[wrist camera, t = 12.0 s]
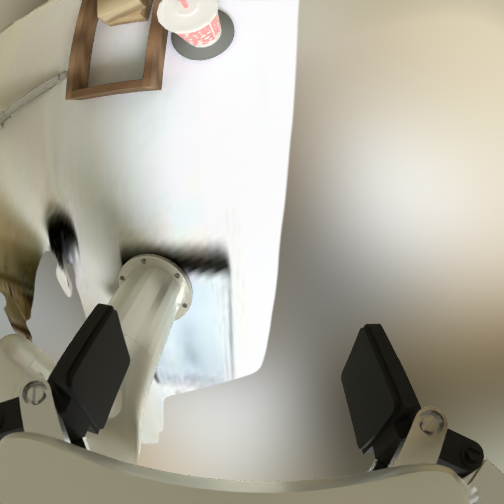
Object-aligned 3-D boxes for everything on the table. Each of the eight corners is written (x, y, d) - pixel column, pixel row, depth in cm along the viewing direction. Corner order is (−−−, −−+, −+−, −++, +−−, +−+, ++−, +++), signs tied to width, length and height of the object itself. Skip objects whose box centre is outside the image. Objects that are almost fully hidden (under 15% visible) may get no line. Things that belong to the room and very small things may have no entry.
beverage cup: (203, 6, 24) (175, -46, 11) (237, 29, 25) (226, -21, 13) (170, 37, 26) (124, -1, 13) (203, 61, 28) (170, 26, 15)
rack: (161, 89, 30) (150, 86, 26) (81, 99, 29) (65, 99, 26) (177, -20, 22) (170, -31, 18) (98, -2, 21) (85, -10, 18)
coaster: (194, 71, 29) (193, 70, 28) (161, 33, 26) (160, 32, 25) (246, 37, 26) (246, 36, 26) (211, 0, 24) (210, -2, 23)
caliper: (-2, 132, 30) (-25, 138, 24) (-3, 127, 30) (-25, 132, 24) (68, 76, 28) (43, 74, 22) (68, 71, 27) (42, 67, 22)
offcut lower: (148, 21, 25) (140, 14, 22) (111, 26, 25) (101, 21, 22) (157, -12, 22) (150, -20, 20) (120, -5, 22) (111, -12, 19)
